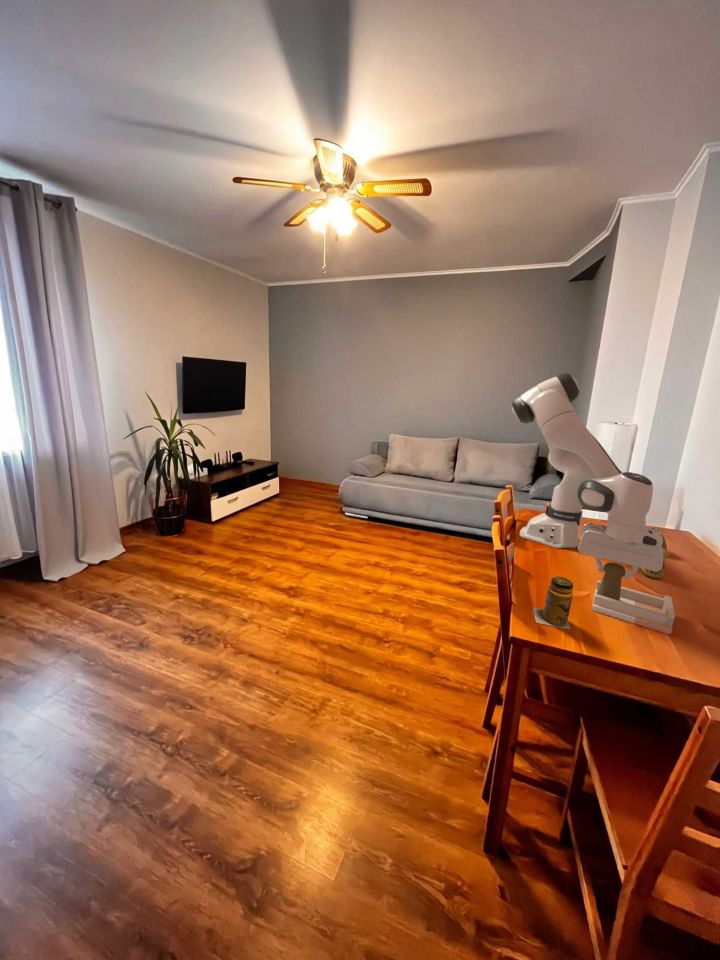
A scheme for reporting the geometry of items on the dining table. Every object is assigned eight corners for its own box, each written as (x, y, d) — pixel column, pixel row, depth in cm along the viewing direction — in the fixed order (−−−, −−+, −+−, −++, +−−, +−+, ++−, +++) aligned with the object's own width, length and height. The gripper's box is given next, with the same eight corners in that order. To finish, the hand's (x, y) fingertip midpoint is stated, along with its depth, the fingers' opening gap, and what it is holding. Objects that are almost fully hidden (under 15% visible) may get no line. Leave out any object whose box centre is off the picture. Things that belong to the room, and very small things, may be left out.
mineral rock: (633, 540, 162) (638, 518, 159) (665, 547, 156) (671, 524, 153) (632, 550, 152) (637, 527, 149) (665, 558, 146) (672, 534, 143)
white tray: (592, 610, 110) (595, 594, 108) (595, 589, 121) (598, 575, 120) (670, 635, 100) (675, 618, 99) (666, 610, 111) (670, 595, 110)
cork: (623, 605, 110) (632, 570, 107) (600, 602, 111) (609, 568, 108) (614, 594, 115) (622, 561, 113) (592, 591, 116) (600, 558, 114)
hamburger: (647, 580, 128) (656, 547, 125) (631, 569, 135) (639, 538, 132) (669, 580, 129) (678, 547, 126) (652, 569, 136) (660, 538, 133)
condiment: (570, 630, 100) (579, 589, 97) (536, 623, 103) (543, 583, 100) (565, 614, 107) (573, 576, 104) (532, 608, 110) (539, 570, 106)
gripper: (581, 524, 110) (572, 567, 114) (669, 543, 99) (656, 590, 103) (583, 518, 116) (574, 560, 119) (668, 536, 104) (655, 581, 108)
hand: (613, 574), depth 111 cm, fingers closed on cork, 5 cm apart
